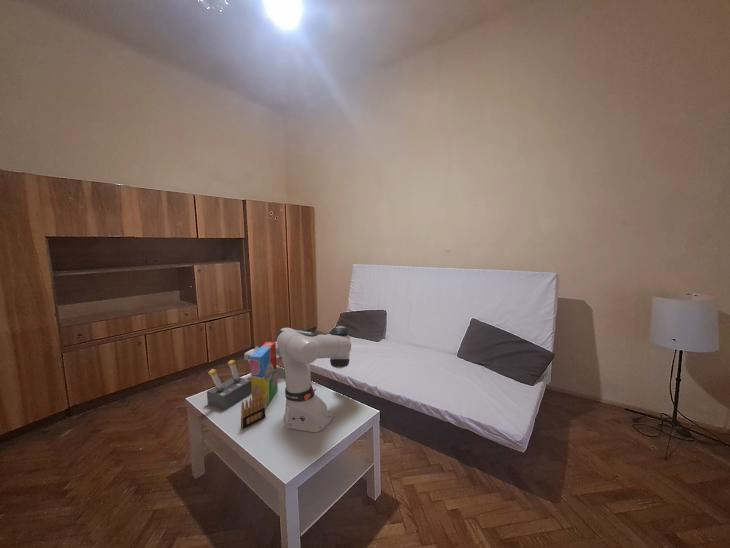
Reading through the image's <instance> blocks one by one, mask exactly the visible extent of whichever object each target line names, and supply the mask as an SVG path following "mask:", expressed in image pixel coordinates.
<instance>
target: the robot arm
mask: <svg viewBox="0 0 730 548" xmlns="http://www.w3.org/2000/svg"><path fill="white" fill-rule="evenodd" d="M350 335H351V332H350V330H349V328H348V327H345V326H340V325H339V326H335V327H333V328H332V329H331V332H330V334H318V333H316V332H314V331H309V330H303V329H295V328H291V327H283V328H280V329H279V330H278V332H277V334H276V336H277V339H276V341H275V342H276V361H277V360H278V359H281V361H282V365H283V368H284V376H285V377H284V378H285V388H284V390H285V391H284V396H285V411H284V415H283V422H284V428H285V429H290V430H297V431H302V432H303V431H304V432H310V433H318V432H320V431H322V430H324V429H326V427H327V426H329V424H330V423H331V422H332V420H333V418H334V416H333V412H332V411H329V410H328V407H327V404H326V402H324V401H323V399H322V398H320V397H319V396H318V395H317V394H316V393H315V392H316V391H317V390H316V389H317V387H315V388H314V387H313V385H312V382H311V381H312V380H311V368H310V365H309V364H312V363H314V362H315V361H316V360H318V359H329V364H330V366H331V367H333V368H335V369H345V368H347V367H348V366H349V364H350V353H351V350H352V343H351V338H350ZM261 346H262V345H260V346H259V345H257V346H255V348H252V349H249V350H248V351H246V352H244V358H243V359H244V360H245V361H247V362H248V364H250V357H251V356H252V355H253V354H254V353H255V352H256V351H257V350H258V349H259V348H260V347H261Z"/></svg>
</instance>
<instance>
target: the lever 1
mask: <svg viewBox="0 0 730 548" xmlns="http://www.w3.org/2000/svg"><path fill="white" fill-rule="evenodd" d="M207 373H208V375H209V376H210V377H211V378H212V381H213V382H214V385H215V387H216V390H220V391H223V390H224V389H225V387H224V386H223V385H222V383H223V382H221V380H220V377H219V376H218V371H217V369H214V368H211V369H210V370H209V371H208V372H207Z"/></svg>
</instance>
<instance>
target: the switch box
mask: <svg viewBox="0 0 730 548" xmlns="http://www.w3.org/2000/svg"><path fill="white" fill-rule="evenodd" d="M221 383H222V385H223V386H224V387H225V389H224V390H223V391H220V390H216V386H213V387H212V388H210V389H208V390H207V391H206V398H207V399H206V401H207V405H208V404H209V405H208V406H211V405H212V407H215V408H217V409H221V410H224V411H226V410H227V409H229V408H231V407H232V406H234V405H236V404H237V403H239V402H241V401H242V400H243V399H245V398H246V397H249V395H252V387H251V379H247V378H243V377H241V380H240V382H237V381H233V377H231V378H229V379H227V380H225V381H224V382H221Z"/></svg>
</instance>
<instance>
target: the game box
mask: <svg viewBox="0 0 730 548" xmlns="http://www.w3.org/2000/svg"><path fill="white" fill-rule="evenodd" d="M260 346H261V347H260V348H259V349H258V350H257V351H256V352H255V353H254V354H253V355H252V356H251V357H250V363H249V365H250V380H251V387H252V393H251V400H252V406H253V397H255V399H256V404H257V395H259V400H260V396H261V393H262V395H263V401H264V407H265V410H266V409H267V408H268V406H269V404H270V402H271V401H272V400H273V398H274V396H275V395H276V393H277V392H278V389H279V388H278V368H277V360H276V341H265V342H264V343H263V344H262V345H260Z"/></svg>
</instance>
